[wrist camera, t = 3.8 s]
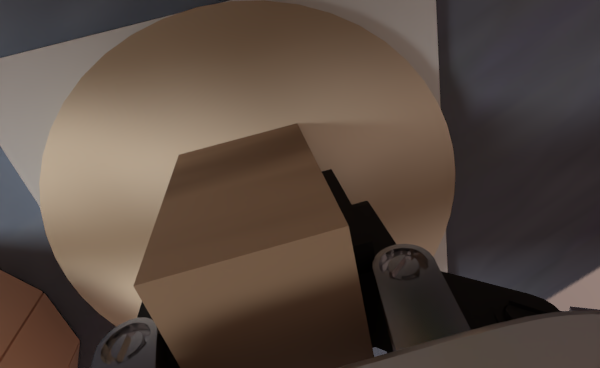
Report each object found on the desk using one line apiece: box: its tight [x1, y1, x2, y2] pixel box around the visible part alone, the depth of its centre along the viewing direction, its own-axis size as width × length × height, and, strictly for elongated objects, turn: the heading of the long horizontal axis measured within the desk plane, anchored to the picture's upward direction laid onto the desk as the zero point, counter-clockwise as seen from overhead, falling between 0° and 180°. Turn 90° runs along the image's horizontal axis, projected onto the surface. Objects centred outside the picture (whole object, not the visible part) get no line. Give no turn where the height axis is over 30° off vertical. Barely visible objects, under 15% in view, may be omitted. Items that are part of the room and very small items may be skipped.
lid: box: [39, 0, 455, 368], centre depth 10 cm, size 13×13×6 cm
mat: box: [0, 0, 448, 273], centre depth 13 cm, size 13×13×1 cm
